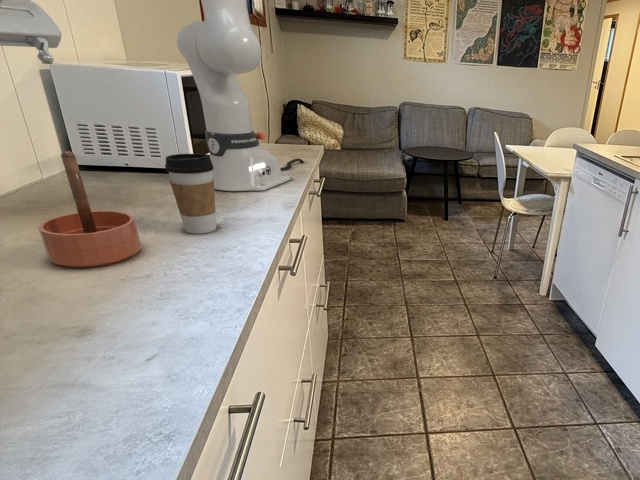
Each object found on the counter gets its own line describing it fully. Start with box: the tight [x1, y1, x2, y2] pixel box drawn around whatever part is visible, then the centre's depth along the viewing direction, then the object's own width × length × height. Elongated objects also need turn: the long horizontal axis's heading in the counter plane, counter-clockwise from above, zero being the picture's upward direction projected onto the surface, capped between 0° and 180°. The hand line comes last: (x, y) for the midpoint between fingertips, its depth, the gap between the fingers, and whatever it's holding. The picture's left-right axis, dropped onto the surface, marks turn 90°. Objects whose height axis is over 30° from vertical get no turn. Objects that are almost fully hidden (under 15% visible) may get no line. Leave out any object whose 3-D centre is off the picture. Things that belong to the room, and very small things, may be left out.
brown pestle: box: [60, 150, 97, 233], centre depth 79 cm, size 5×5×17 cm
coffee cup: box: [164, 153, 217, 235], centre depth 94 cm, size 8×8×15 cm
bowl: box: [37, 210, 142, 268], centre depth 82 cm, size 13×13×6 cm
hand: (19, 61), depth 85 cm, fingers open, 8 cm apart
